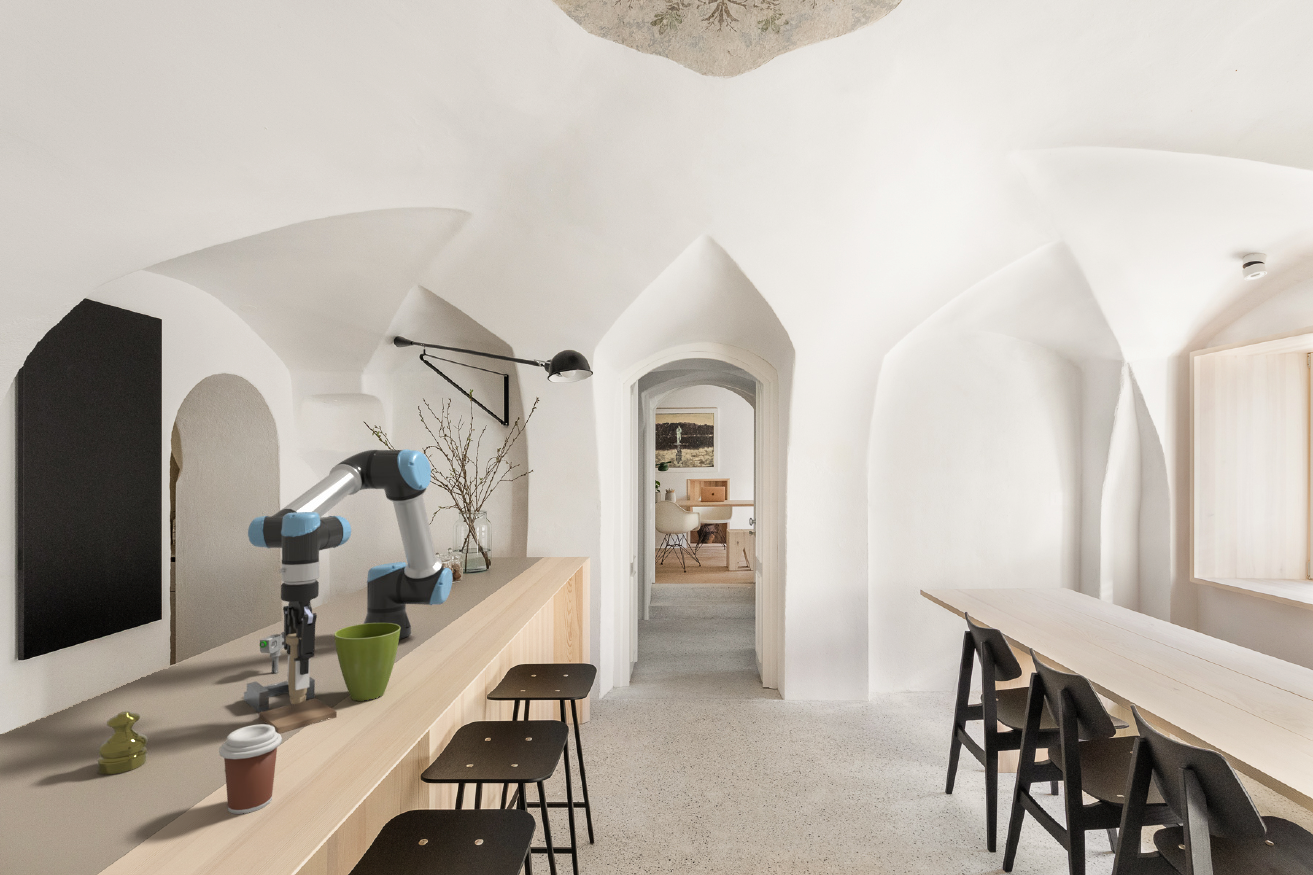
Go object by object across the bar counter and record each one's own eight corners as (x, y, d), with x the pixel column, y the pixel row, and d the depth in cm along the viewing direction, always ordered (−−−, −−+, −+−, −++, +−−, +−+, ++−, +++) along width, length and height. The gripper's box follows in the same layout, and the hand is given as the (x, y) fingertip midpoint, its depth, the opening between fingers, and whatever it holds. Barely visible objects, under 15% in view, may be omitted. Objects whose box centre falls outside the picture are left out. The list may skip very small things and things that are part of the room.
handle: (280, 707, 145) (281, 638, 145) (292, 697, 151) (293, 631, 152) (303, 706, 146) (305, 638, 146) (314, 696, 152) (315, 630, 152)
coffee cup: (291, 789, 117) (292, 721, 117) (262, 817, 108) (263, 743, 108) (238, 790, 117) (239, 721, 117) (205, 818, 107) (206, 744, 108)
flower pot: (319, 700, 159) (320, 633, 159) (371, 681, 172) (372, 619, 172) (361, 711, 152) (362, 641, 152) (412, 691, 165) (413, 626, 166)
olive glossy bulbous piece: (141, 753, 131) (142, 702, 131) (152, 764, 126) (153, 711, 126) (93, 767, 125) (94, 713, 125) (102, 779, 120) (103, 724, 121)
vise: (294, 685, 169) (294, 667, 169) (314, 698, 160) (314, 679, 160) (241, 698, 160) (241, 679, 160) (259, 712, 151) (259, 692, 151)
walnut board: (315, 703, 157) (315, 698, 157) (336, 717, 149) (336, 711, 149) (259, 718, 148) (259, 712, 148) (278, 733, 140) (278, 727, 140)
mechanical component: (292, 666, 184) (292, 630, 184) (267, 679, 173) (267, 640, 174) (282, 666, 184) (282, 630, 184) (256, 678, 174) (257, 640, 174)
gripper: (268, 578, 152) (266, 680, 152) (296, 588, 141) (294, 699, 140) (303, 574, 158) (301, 673, 157) (332, 583, 146) (331, 690, 146)
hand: (298, 685), depth 149 cm, fingers closed on handle, 4 cm apart
